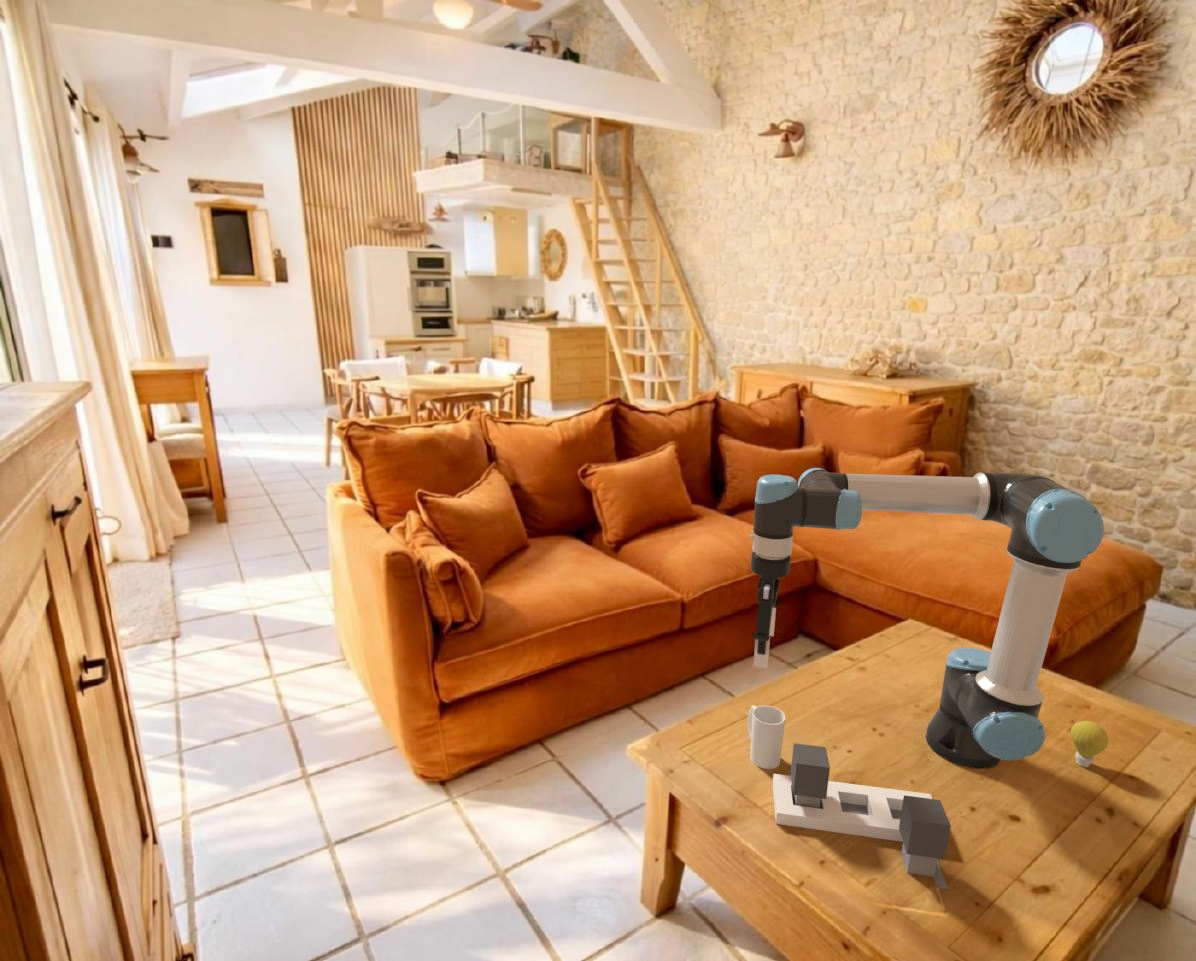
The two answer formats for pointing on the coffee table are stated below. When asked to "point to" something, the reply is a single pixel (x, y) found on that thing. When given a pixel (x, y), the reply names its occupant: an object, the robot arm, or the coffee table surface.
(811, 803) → the twin plug
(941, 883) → the pad
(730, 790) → the coffee table surface
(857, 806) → the strip
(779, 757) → the mug
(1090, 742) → the light bulb
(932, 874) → the plug
